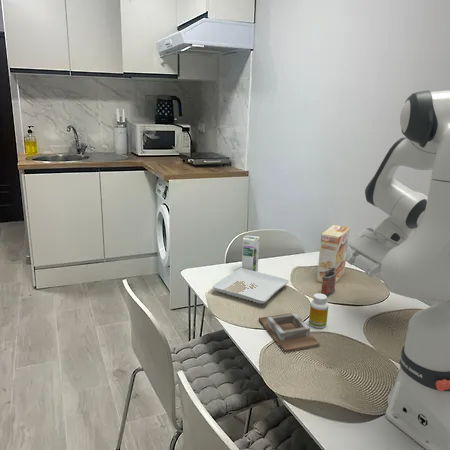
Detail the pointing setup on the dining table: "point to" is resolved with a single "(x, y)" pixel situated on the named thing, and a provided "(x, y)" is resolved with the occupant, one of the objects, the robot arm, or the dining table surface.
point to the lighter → (329, 281)
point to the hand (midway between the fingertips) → (358, 268)
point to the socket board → (289, 332)
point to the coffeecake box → (333, 251)
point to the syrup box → (250, 253)
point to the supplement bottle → (318, 311)
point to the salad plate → (259, 294)
